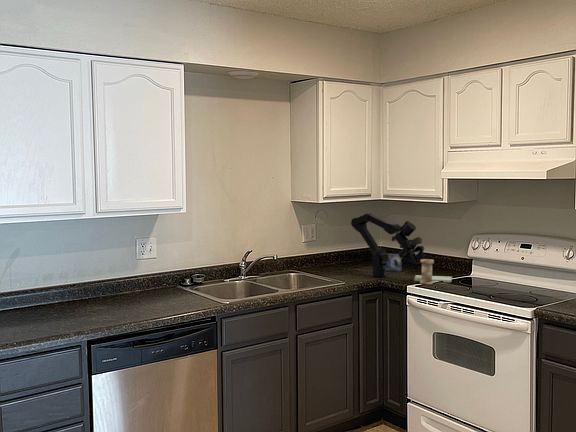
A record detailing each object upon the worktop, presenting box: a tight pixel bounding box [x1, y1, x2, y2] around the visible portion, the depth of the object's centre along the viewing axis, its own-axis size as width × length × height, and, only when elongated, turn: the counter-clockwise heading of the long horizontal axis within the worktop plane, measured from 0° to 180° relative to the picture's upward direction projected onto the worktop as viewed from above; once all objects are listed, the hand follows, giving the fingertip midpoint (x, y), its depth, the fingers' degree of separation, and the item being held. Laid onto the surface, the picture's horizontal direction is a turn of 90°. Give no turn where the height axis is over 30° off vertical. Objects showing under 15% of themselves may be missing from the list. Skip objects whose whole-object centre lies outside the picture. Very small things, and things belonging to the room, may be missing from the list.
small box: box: [384, 252, 403, 273], centre depth 368 cm, size 11×6×10 cm, turn 76°
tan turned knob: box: [419, 258, 435, 285], centre depth 326 cm, size 7×7×13 cm
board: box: [414, 274, 453, 283], centre depth 338 cm, size 20×12×1 cm, turn 74°
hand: (420, 263), depth 329 cm, fingers open, 9 cm apart
